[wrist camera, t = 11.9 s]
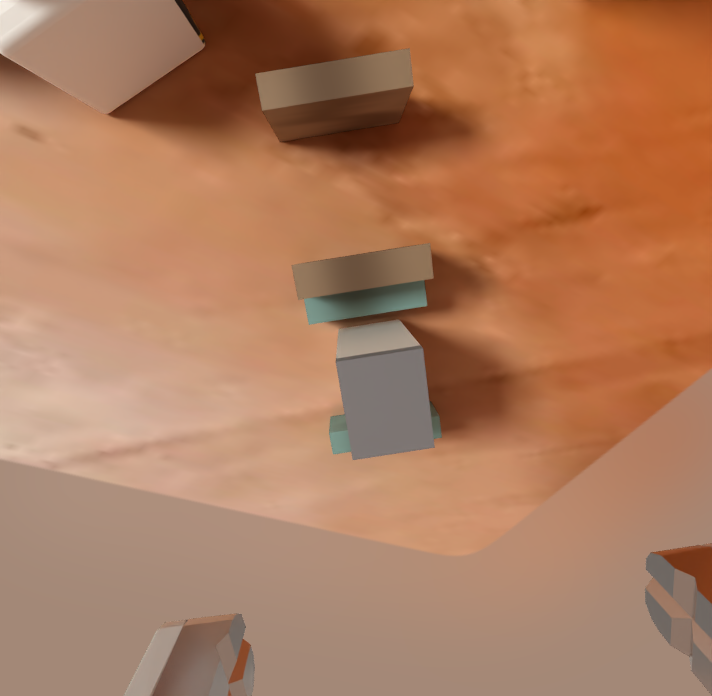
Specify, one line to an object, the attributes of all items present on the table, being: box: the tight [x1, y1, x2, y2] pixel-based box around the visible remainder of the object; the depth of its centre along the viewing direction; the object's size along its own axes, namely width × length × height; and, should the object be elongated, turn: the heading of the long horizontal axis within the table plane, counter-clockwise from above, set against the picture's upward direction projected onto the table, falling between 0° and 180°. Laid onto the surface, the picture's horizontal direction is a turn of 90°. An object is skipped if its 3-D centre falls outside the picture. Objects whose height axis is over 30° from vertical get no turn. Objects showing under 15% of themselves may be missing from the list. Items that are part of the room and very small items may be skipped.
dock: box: [255, 48, 442, 454], centre depth 22 cm, size 7×20×5 cm, turn 9°
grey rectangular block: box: [336, 319, 435, 460], centre depth 22 cm, size 4×5×8 cm
